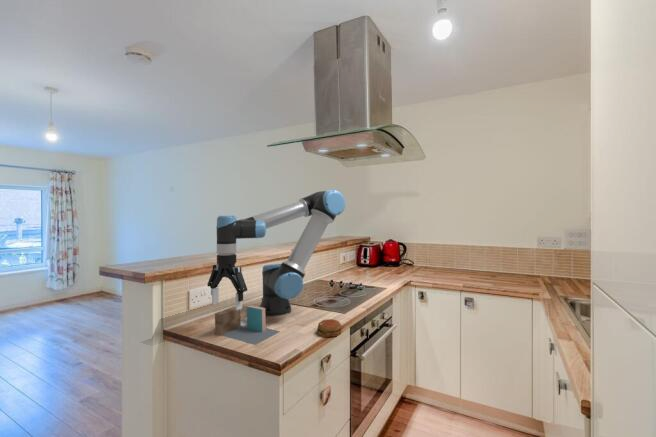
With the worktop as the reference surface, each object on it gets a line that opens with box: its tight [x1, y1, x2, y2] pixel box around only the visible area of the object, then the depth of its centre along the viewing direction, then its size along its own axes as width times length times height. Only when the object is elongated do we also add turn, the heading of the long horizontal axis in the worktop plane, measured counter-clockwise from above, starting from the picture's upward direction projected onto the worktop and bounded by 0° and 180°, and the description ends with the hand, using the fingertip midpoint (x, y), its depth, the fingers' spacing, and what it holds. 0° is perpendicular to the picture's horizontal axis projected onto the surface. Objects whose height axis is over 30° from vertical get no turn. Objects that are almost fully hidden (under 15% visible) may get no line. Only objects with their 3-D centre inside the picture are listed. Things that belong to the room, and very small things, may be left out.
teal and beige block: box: [246, 304, 267, 332], centre depth 125 cm, size 2×8×9 cm, turn 60°
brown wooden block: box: [214, 306, 247, 336], centre depth 128 cm, size 18×6×8 cm, turn 150°
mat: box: [214, 326, 281, 345], centre depth 122 cm, size 22×14×1 cm, turn 60°
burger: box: [316, 318, 343, 338], centre depth 122 cm, size 10×9×5 cm
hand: (226, 306), depth 124 cm, fingers open, 13 cm apart
